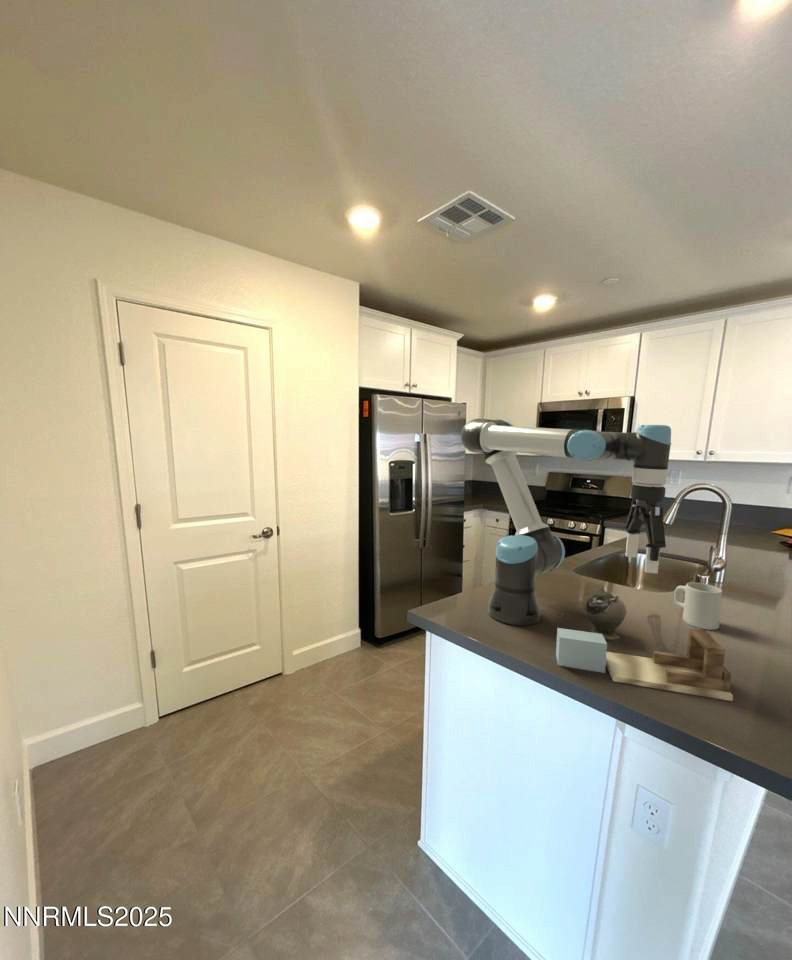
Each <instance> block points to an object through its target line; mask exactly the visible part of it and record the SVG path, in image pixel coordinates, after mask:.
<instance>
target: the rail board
mask: <svg viewBox="0 0 792 960" xmlns="http://www.w3.org/2000/svg"><path fill="white" fill-rule="evenodd" d="M686 648H687V649H686V654H679V653H672V652H664V651H657V650H653V651H652V658H651V657H646V656H645V657H644V656H639V655H632V654H627V653H626V654H625V653H619V652H611V651H607V653H606V668H607V670H608V672H609V674H610V678H611V679H612V681H613V682H614V683H623V684H628V685H634V686H640V687H647V688H653V689H658V690H663V691H670V692H676V693H682V694H688V695H694V696H700V697H704V698H706V697H707V698H712V699H719V700H724V701H730V702H733V700H734V695H733V694H732V693H731V692H730V688H731V681H732V680H731V679H732V673H731V672H730V671H729V669H727V668H726V667H725V666H724V664H725V656H726V655H725V654H726V653H725V652H726V650H725V648H724V647H723V646H722V645H721V644H719V643H718V642H717V641H716V640H715V639H714V638H713V637H712V636H711V635H710V634H709V633H708V632H707V631H706V629H700V628H691V627H690V628H688V638H687V647H686Z"/></svg>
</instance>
